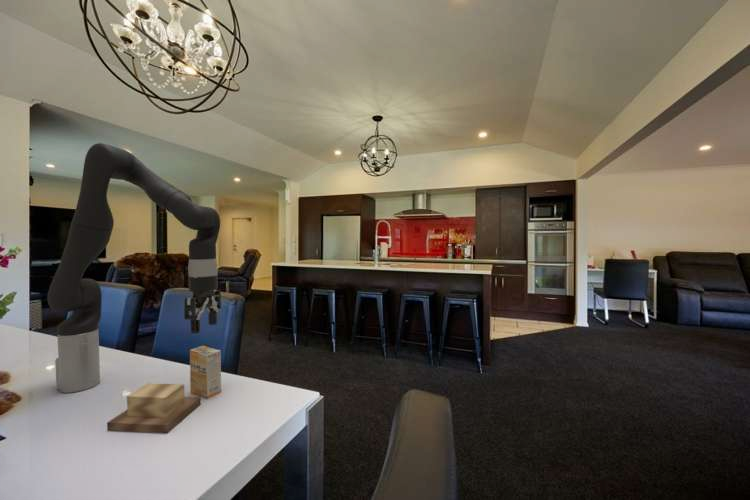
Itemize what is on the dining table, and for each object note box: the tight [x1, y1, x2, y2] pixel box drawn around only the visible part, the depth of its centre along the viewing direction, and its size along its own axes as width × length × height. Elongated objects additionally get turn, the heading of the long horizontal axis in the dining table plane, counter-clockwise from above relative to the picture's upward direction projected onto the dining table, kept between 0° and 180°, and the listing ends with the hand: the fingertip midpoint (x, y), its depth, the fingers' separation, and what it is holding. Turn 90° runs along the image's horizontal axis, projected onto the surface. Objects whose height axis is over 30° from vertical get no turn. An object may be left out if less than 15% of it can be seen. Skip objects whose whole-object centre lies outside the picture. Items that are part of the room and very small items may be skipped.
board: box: [106, 396, 201, 434], centre depth 82 cm, size 15×13×2 cm
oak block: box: [126, 382, 186, 418], centre depth 82 cm, size 10×7×5 cm
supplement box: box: [189, 345, 222, 399], centre depth 94 cm, size 8×5×13 cm, turn 62°
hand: (204, 328), depth 94 cm, fingers open, 8 cm apart
